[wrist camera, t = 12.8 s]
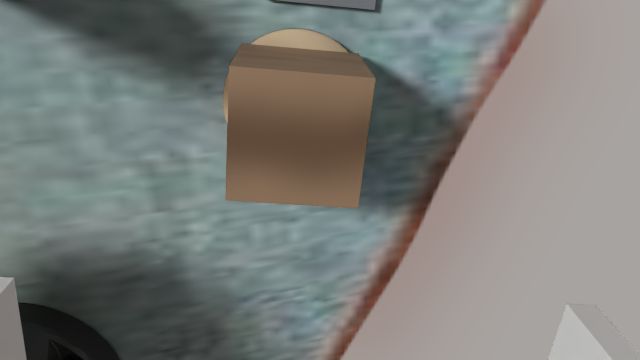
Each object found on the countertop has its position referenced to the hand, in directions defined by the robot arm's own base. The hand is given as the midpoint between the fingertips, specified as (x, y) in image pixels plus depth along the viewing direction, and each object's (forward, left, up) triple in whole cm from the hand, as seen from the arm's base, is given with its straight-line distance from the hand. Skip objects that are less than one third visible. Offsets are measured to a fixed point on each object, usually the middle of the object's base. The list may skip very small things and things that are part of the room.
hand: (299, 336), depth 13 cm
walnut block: (0, 0, -22) cm, 22 cm away
